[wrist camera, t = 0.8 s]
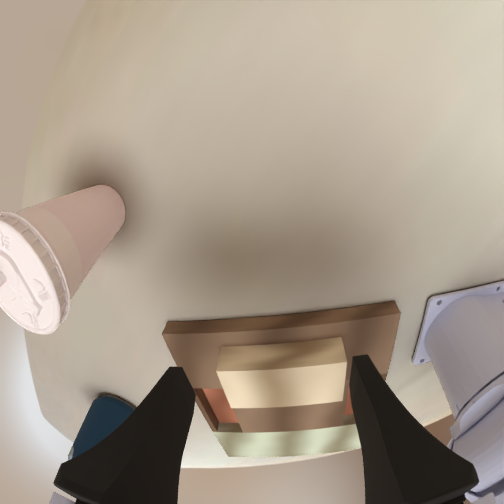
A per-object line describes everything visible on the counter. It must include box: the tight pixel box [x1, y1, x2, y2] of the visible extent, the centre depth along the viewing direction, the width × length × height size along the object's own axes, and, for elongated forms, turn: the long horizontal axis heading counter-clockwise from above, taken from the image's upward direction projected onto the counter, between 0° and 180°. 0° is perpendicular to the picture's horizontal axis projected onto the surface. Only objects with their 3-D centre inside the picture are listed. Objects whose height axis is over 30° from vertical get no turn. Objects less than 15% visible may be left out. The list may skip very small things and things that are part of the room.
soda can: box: [68, 395, 135, 460], centre depth 26 cm, size 7×7×12 cm
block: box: [216, 337, 347, 408], centre depth 21 cm, size 9×5×2 cm, turn 99°
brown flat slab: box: [162, 301, 401, 457], centre depth 26 cm, size 18×24×2 cm
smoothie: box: [0, 185, 126, 334], centre depth 12 cm, size 6×6×14 cm
